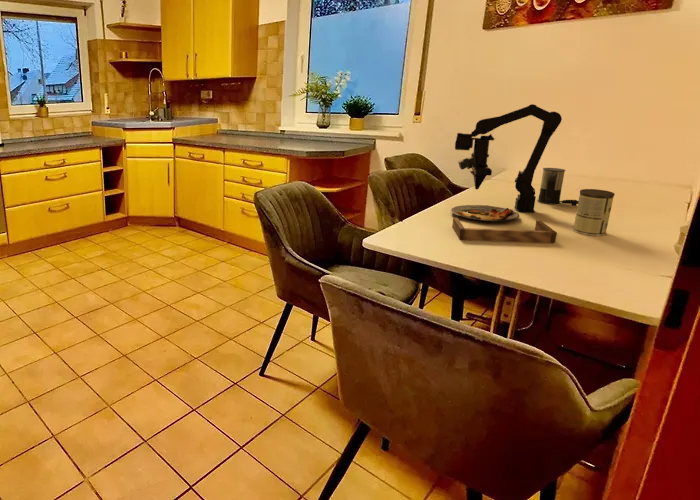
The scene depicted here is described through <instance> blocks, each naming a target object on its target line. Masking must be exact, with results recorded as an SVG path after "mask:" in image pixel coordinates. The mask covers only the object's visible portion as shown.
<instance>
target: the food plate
mask: <svg viewBox="0 0 700 500" xmlns="http://www.w3.org/2000/svg"><path fill="white" fill-rule="evenodd" d="M450 212H451V213H453V214H454V215H456V216H460V217H463V218H466V219H472V220H474V221H476V220H478V221H481V222H484V221H485V222H504V221H505V222H506V221H507V222H508V221H511V220H515V219H518V218H519V217H520V214H519V213H518V212H517V211H514V209H512V208H511V209H510V208H508V207H506V208H504V207H500V206H493V205H486V204H485V205H483V204H482V205H481V204H465V205H464V204H463V205H456V206H454V207H451V209H450ZM489 212H490V213H489Z"/></svg>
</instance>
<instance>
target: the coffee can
mask: <svg viewBox="0 0 700 500" xmlns="http://www.w3.org/2000/svg"><path fill="white" fill-rule="evenodd" d="M614 197H615V192H613V191H610V190H605V189H598V188H597V189H595V188H583V189H580V191H579V197H578V200H577V201H578V204H577V208H576V213H575V218H574V219H575V220H574V224H573V229H572V231H573V232H575V233H577V234H580V235H584V236H588V237H589V236H590V237H603V236H606V235H607V229H608V225H609V220H610V216H611V215H610V214H611V211H612V206H613V201H614Z"/></svg>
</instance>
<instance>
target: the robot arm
mask: <svg viewBox="0 0 700 500" xmlns="http://www.w3.org/2000/svg"><path fill="white" fill-rule="evenodd" d="M529 116H530V117H531V116H532V117H534V118H536V119H539V120H541V121H543V122H542V126H541V130H540V131H541V132H540V135H539V136H538V138H537V141H536V144H535V146H534V147H533V149H532V152H531V155H530V157H529V159H528V161H527V163H526V166H525V168H524V169H523V170H518V172H517V176H516V177H515V179H514V183H515V190H516V191H517V192H519V193H518V194H517V197H516V198H515V201H514V202H515V204H514V209H515V210H516V212H517V211H518V212H520V213H536V210H535V206H536V196H535V195H536V189H535V188H534V186H533V185H532V183H533V178H534V174H535V171H536V169H537V167H538V165H539V163H540V160H541V159H542V156H543V154H544V152H545V149H546V147H547V145H548V143H549V141H550V140H551V137H552V136H553V134H554V133H555V132H556V130H557V129H558V127H559V126H560V125H561V122H562V115H561V114H560V113H559V112H557V111H548V110H545V109H544V108H542V107H540V106H537V105H536V104H533V103H531V104H529V105H527V106H525V107H522V108H519V109H516V110H514V111H511V112H507V113H505V114H502V115H499V116H493V117H488V118H482V119H480V120H478V122H477V123H476V124H475V128H474V129H473V131H471V133H462V132H458V133H457V134H456V137H455V138H456V139H455V143H454V149H455V151H470V150H471V149H473V152H472V153H471V154H470V155H471V156H469V157H466V158H462V159H459V160H457V162H458V166H459V169H460V170H465V169H467V170H470V169H471V170H470V171H469V172H470V174H471V175H472V176H473V182H474V189H475V190H479V189H480V187H481V185H482V184H483V182H484V180H485V179H486V177H487V176H492V174H493V173H492V172H493V171H492V169H491V168H490V167H488V158H489V157H490V154H489V146H490V141H495V137H494V136H493V134H492V133H490V132H492V131H493V130H495V129H497V128H499V127H501V126H503V125H507V124H509V123H512V122H515V121H518V120H521V119H523V118H527V117H529ZM488 133H490V134H489V135H486V134H488ZM479 135H480V137H477V136H479Z"/></svg>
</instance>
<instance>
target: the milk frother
mask: <svg viewBox="0 0 700 500" xmlns="http://www.w3.org/2000/svg"><path fill="white" fill-rule="evenodd" d="M565 171H566V169H565V168H559V167H558V168H557V167H542V175H541V182H540V189H539V195H538V199H537V202H538V203H541V204H547V205H548V204H549V205H559V204H564V205H565V204H567V205H571V206H573V207H576V206H578V201H579V200H577V199H563V200H561V194H562V188H563V183H564V176H565Z"/></svg>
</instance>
